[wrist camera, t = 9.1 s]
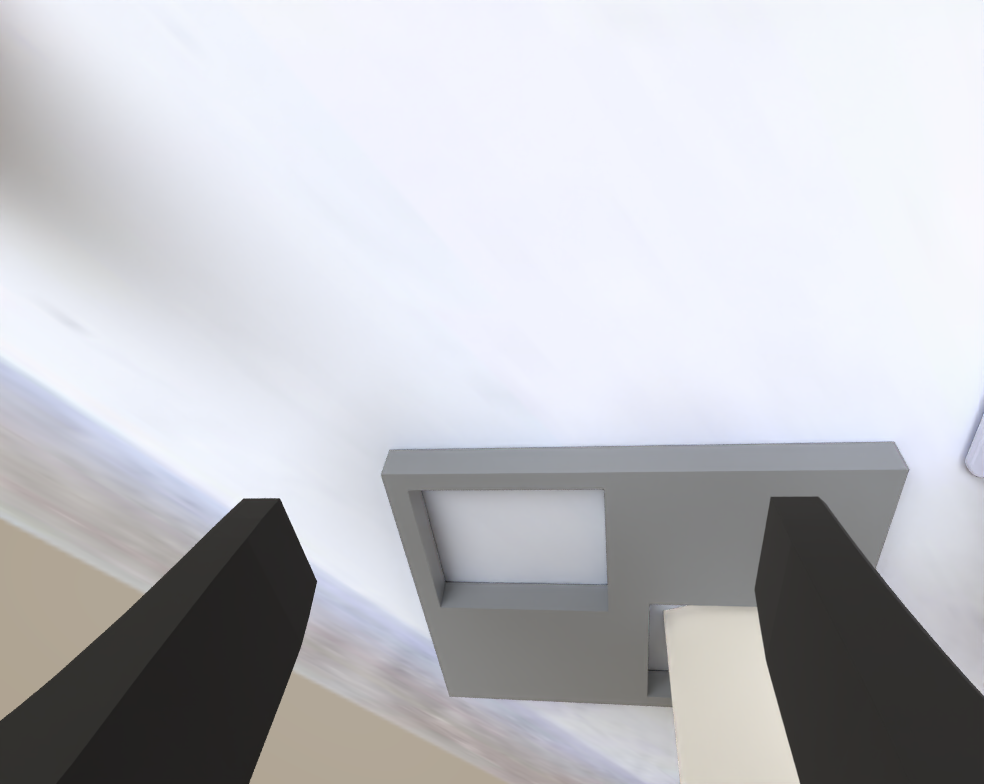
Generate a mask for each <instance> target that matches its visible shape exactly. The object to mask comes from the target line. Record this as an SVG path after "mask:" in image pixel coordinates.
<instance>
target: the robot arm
mask: <svg viewBox="0 0 984 784" xmlns="http://www.w3.org/2000/svg"><path fill="white" fill-rule="evenodd" d="M965 464H966V466H967V467H968V469H969V470H970V472H971V473H972V474H973V475H975V476H976V477H983V478H984V415H983V417H982V419H981V422H980V424H979V427H978V429H977V432H976V434H975V437H974V439H973V442H972V444H971V447H970V449H969V452H968V454H967V457H966V460H965ZM316 584H317V580H316V578H315V576H314V574H313V571H312V569H311V567H310V565H309V562H308V560H307V558H306V556H305V554H304V551H303V549H302V547H301V545H300V542H299V540H298V538H297V536H296V533H295V531H294V529H293V527H292V524H291V522H290V520H289V518H288V516H287V513H286V511H285V509H284V507H283V504H282V502H281V500H280V498H261V499H243V500H242V501H241V502H239V503H238V504H237V505H236V506H235V507H234V508H233V509H232V510H231V511H230V512H229V513H228V514H227V515H226V516H224V517H223V518H222V519H221V520H220V521H219V522H218V523H217V524H216V525H215V526H214V527H213V528H212V529H211V530H210V531H209V532H208V533H207V534H206V535H205V536H204V537H203V538H202V539H201V540H200V541H199V542H198V543H197V544H196V545H195V546H194V547H193V548H192V549H191V550H190V551H189V552H188V553H187V554H186V555H185V556H184V557H183V558H182V559H181V560H180V561H179V562H178V563H177V564H176V565H175V566H174V567H172V568H171V569H170V570H169V571H168V572H167V573H166V574H165V575H164V576H163V577H162V578H161V579H160V580H159V581H158V582H157V583H156V584H155V585H154V586H153V587H152V588H151V589H150V590H149V591H148V592H147V593H146V594H144V595H143V596H142V597H141V598H140V599H139V600H138V601H137V602H136V603H135V604H134V605H133V606H132V607H131V608H130V609H129V610H128V611H127V612H126V613H125V614H124V615H122V616H121V617H120V618H119V619H118V620H117V621H116V622H115V623H114V624H112V625H111V626H110V627H109V628H108V629H107V630H106V631H105V632H104V633H102V634H101V635H100V636H99V637H98V638H97V639H96V640H95V641H94V642H93V643H91V644H90V645H89V646H88V647H87V648H86V649H85V650H84V651H82V652H81V653H80V654H79V655H78V656H77V657H76V658H75V659H74V660H72V661H71V662H70V663H69V664H68V665H67V666H66V667H65V668H64V669H63V670H61V671H60V672H59V673H58V674H57V675H56V676H54V677H53V678H52V679H51V680H50V681H48V683H46V684H45V685H44V686H43V687H41V688H40V689H39V690H38V691H37V692H35V693H34V694H33V695H32V696H31V697H29V698H28V699H27V700H26V701H24V702H23V703H22V704H21V705H20V706H18V707H17V708H16V709H15V710H13V711H12V712H11V713H10V714H8V715H7V716H6V717H4V719H2V720H1V721H0V784H249V782H250V779H251V777H252V774H253V772H254V769H255V766H256V764H257V761H258V759H259V756H260V753H261V751H262V748H263V746H264V743H265V740H266V738H267V735H268V733H269V730H270V727H271V725H272V722H273V720H274V717H275V714H276V712H277V709H278V707H279V704H280V701H281V699H282V696H283V694H284V691H285V688H286V686H287V683H288V680H289V678H290V675H291V672H292V670H293V667H294V664H295V662H296V659H297V656H298V653H299V651H300V648H301V645H302V642H303V638H304V634H305V630H306V626H307V622H308V619H309V615H310V610H311V606H312V601H313V597H314V593H315V588H316ZM754 591H755V597H756V603H757V610H758V616H759V623H760V629H761V635H762V641H763V647H764V652H765V658H766V663H767V667H768V670H769V674H770V678H771V681H772V685H773V689H774V692H775V696H776V699H777V703H778V707H779V710H780V714H781V718H782V721H783V725H784V728H785V732H786V735H787V739H788V742H789V746H790V749H791V753H792V757H793V760H794V764H795V767H796V771H797V774H798V778H799V781H800V784H984V696H983V695H982V694H981V692H980V691H979V690H978V689H977V688H976V687H975V686H974V685H973V684H972V683H971V682H970V681H969V679H968V678H967V677H966V676H965V675H964V674H963V673H962V672H961V670H960V669H959V668H958V667H957V666H956V665H955V664H954V663H953V661H952V660H951V659H950V658H949V657H948V656H947V655H946V654H945V652H944V651H943V650H942V649H941V648H940V647H939V645H938V644H937V643H936V642H935V641H934V640H933V638H932V637H931V636H930V635H929V634H928V632H927V631H926V630H925V629H924V628H923V627H922V625H921V624H920V623H919V622H918V621H917V620H916V618H915V617H914V616H913V615H912V614H911V613H910V611H909V610H908V609H907V608H906V607H905V605H904V604H903V603H902V602H901V601H900V599H899V598H898V597H897V596H896V594H895V593H894V592H893V591H892V590H891V588H890V587H889V586H888V585H887V583H886V582H885V581H884V579H883V578H882V577H881V576H880V574H879V573H878V572H877V571H876V569H875V568H874V567H873V566H872V564H871V563H870V562H869V560H868V559H867V558H866V557H865V555H864V554H863V553H862V551H861V550H860V549H859V547H858V546H857V545H856V544H855V542H854V541H853V540H852V538H851V537H850V536H849V534H848V533H847V532H846V530H845V529H844V528H843V526H842V525H841V524H840V522H839V521H838V519H837V518H836V517H835V515H834V514H833V513H832V511H831V510H830V509H829V507H828V506H827V504H826V503H825V502H824V501H823V500H822V499H821V498H819V497H818V496H812V497H771V498H770V503H769V509H768V515H767V520H766V526H765V532H764V537H763V543H762V549H761V555H760V560H759V566H758V572H757V577H756V583H755V589H754Z"/></svg>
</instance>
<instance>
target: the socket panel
mask: <svg viewBox="0 0 984 784" xmlns="http://www.w3.org/2000/svg"><path fill="white" fill-rule="evenodd" d="M908 471H909V468H908V466H907V464H906V463H905V461H904V459H903V457H902V455H901V453H900V451H899V450H898V448H897V446H896V444H895V442H855V443H793V444H731V445H668V446H606V447H543V448H481V449H418V450H389V453H388V456H387V458H386V461H385V464H384V467H383V470H382V473H381V476H382V480H383V483H384V486H385V489H386V493H387V496H388V499H389V502H390V506H391V509H392V512H393V515H394V518H395V522H396V525H397V528H398V531H399V535H400V538H401V541H402V544H403V547H404V551H405V554H406V557H407V560H408V564H409V567H410V570H411V573H412V577H413V580H414V583H415V586H416V589H417V593H418V596H419V599H420V602H421V606H422V609H423V612H424V615H425V619H426V622H427V625H428V628H429V631H430V635H431V638H432V641H433V644H434V648H435V651H436V654H437V657H438V661H439V664H440V667H441V670H442V673H443V677H444V680H445V683H446V686H447V690H448V693H449V696H450V697H469V698H490V699H512V700H533V701H554V702H576V703H597V704H618V705H640V706H661V707H673V705H672V695H671V685H670V675H669V671H648V646H649V607H650V604H653V605H698V606H742V607H757V603H756V597H755V591H754V589H755V583H756V577H757V572H758V566H759V560H760V555H761V549H762V543H763V537H764V532H765V526H766V520H767V515H768V509H769V503H770V498H771V497H812V496H818V497H819V498H821V499H822V500H823V501H824V502H825V503H826V504H827V506H828V507H829V509H830V510H831V511H832V513H833V514H834V515H835V517H836V518H837V519H838V521H839V522H840V524H841V525H842V526H843V528H844V529H845V530H846V532H847V533H848V534H849V536H850V537H851V538H852V540H853V541H854V542H855V544H856V545H857V546H858V547H859V549H860V550H861V551H862V553H863V554H864V555H865V557H866V558H867V559H868V560H869V562H870V563H871V564H872V566H873V567H874V568H875V569H876V566H877V563H878V560H879V557H880V554H881V551H882V548H883V545H884V542H885V539H886V536H887V533H888V530H889V527H890V524H891V522H892V519H893V516H894V513H895V510H896V507H897V504H898V501H899V498H900V495H901V492H902V489H903V486H904V483H905V480H906V477H907V474H908ZM584 489H604V497H605V526H606V554H607V583H608V585H582V584H526V583H470V582H445V578H444V574H443V570H442V567H441V563H440V559H439V555H438V552H437V548H436V544H435V540H434V536H433V533H432V529H431V525H430V521H429V518H428V514H427V510H426V506H425V502H424V499H423V495H422V491H421V490H584Z"/></svg>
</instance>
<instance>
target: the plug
mask: <svg viewBox="0 0 984 784" xmlns="http://www.w3.org/2000/svg"><path fill="white" fill-rule="evenodd" d="M663 615H664V625H665V635H666V645H667V655H668V665H669V675H670V685H671V695H672V705H673V716H674V726H675V736H676V746H677V756H678V766H679V776H680V784H800V781H799V778H798V774H797V771H796V767H795V764H794V760H793V757H792V753H791V749H790V746H789V742H788V739H787V735H786V732H785V728H784V725H783V721H782V718H781V714H780V710H779V707H778V703H777V699H776V696H775V692H774V689H773V685H772V681H771V678H770V674H769V670H768V667H767V663H766V658H765V652H764V647H763V641H762V635H761V629H760V623H759V616H758V610H757V607H742V606H698V605H687V606H683V607H678V608H673V609H669V610H664V611H663Z"/></svg>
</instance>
